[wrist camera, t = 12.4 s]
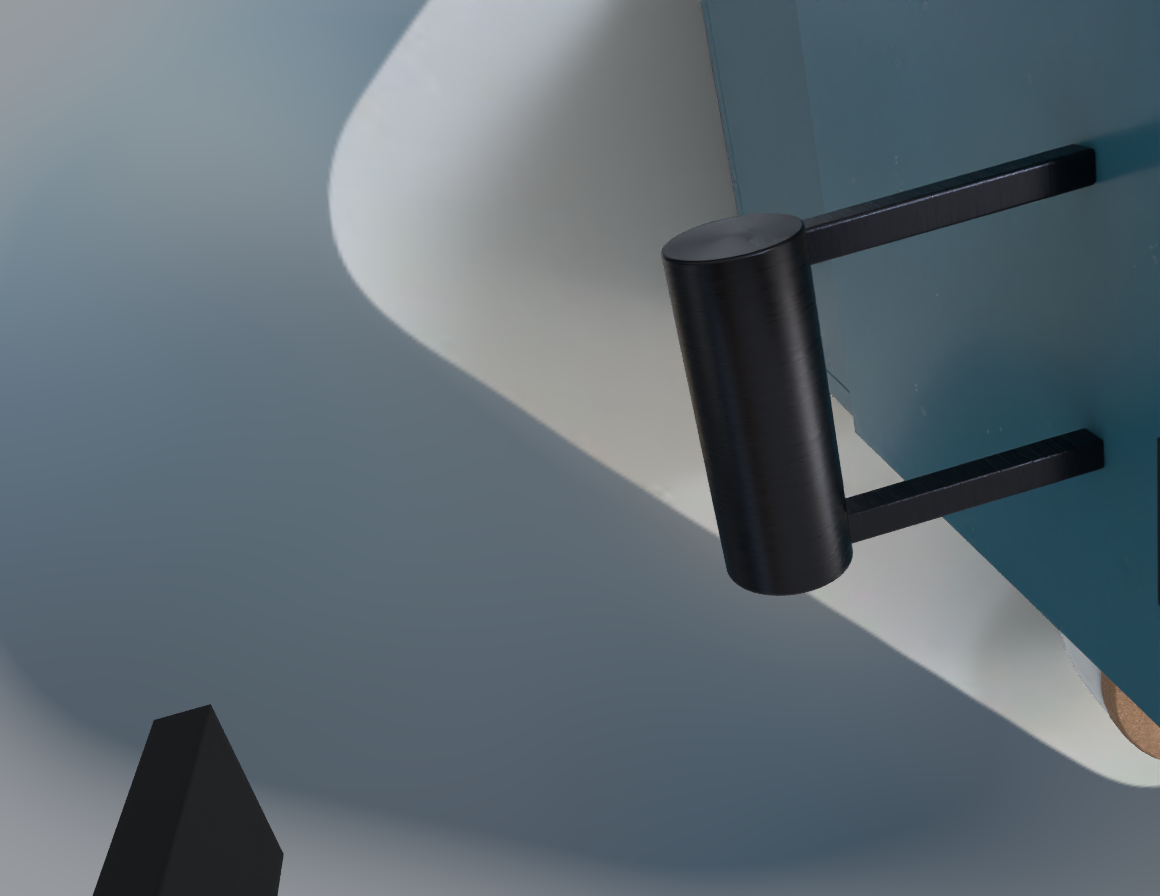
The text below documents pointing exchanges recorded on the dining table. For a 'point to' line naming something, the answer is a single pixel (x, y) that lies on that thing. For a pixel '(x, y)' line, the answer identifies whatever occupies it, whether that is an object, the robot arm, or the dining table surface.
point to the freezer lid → (954, 312)
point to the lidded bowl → (1116, 703)
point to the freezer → (773, 135)
